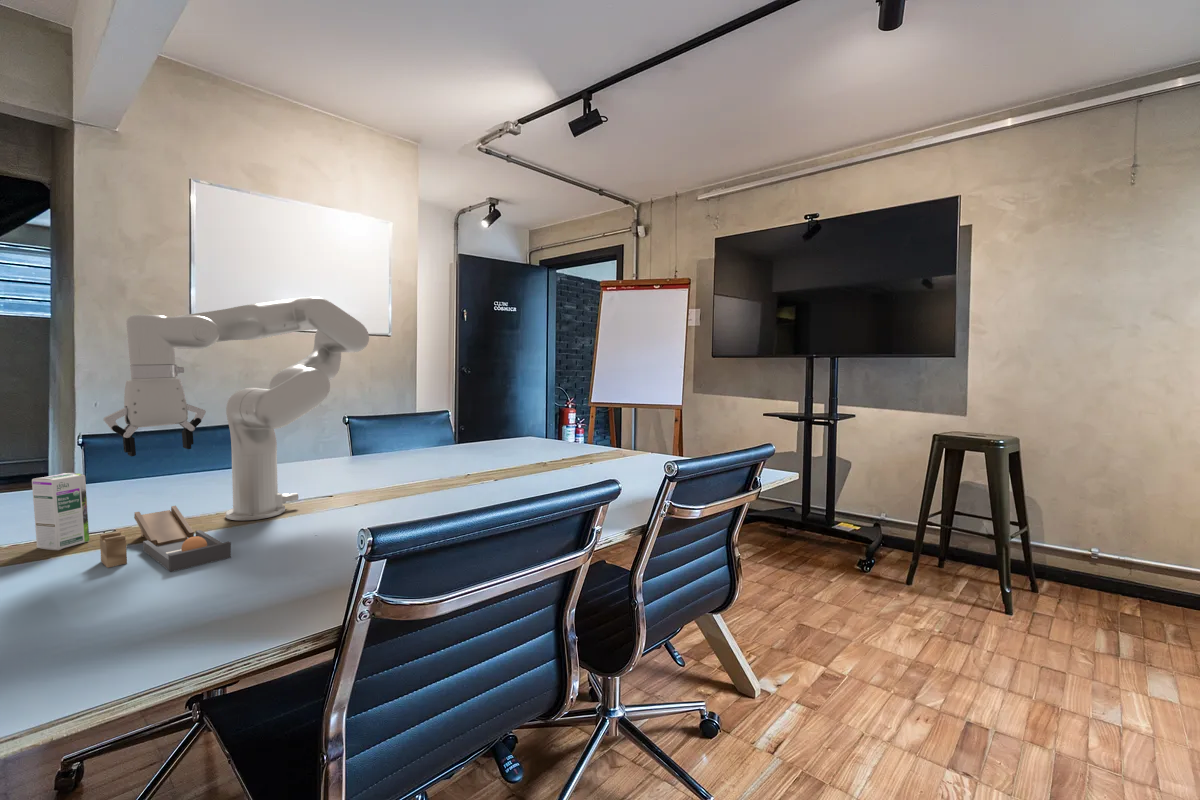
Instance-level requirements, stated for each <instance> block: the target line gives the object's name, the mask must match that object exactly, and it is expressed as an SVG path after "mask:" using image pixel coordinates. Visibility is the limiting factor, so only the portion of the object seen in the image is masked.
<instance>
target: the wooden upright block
mask: <svg viewBox="0 0 1200 800" xmlns="http://www.w3.org/2000/svg"><path fill="white" fill-rule="evenodd" d="M99 537H100V538H99V547H100V549H99V550H100V562H101V563H102V564H103V566H105V567H106V568H108V569H109V568H113V567H117V566H121V565H126V564H128V556H127V540H126V534H122V532H121V531H112V532H106V533H102V534H99Z"/></svg>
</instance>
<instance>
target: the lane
mask: <svg viewBox="0 0 1200 800" xmlns="http://www.w3.org/2000/svg"><path fill="white" fill-rule="evenodd" d="M195 536H199V537H202V538H204V539H205V540H206V542H207V546H206V547H201V548H197V549H192V550H188V551H183V552H182V549H181V548H182V544H183V543H184V541H185V540H183V541H178V542H174V543H169V544H164V545H159V546H157V545H156V546H155V545H154V544H153V543H151V542H150V541H148V540H147V539H146V540H143V541H142V546H143V547H142V549H143V550H142V551H143V552H144V553H145V554H147V555H148V556H149V557H150V558H152V559H153V560H154V561H156V562H158V563H159V564H160V565H161V566H162V567H163V568H165V569H166V570H167V571H169V572H170V573H172V572H173V573H174V572H177V571H181V570H185V569H189V568H193V567H198V566H202V565H205V564H209V563H213V562H218V561H223V560H226V559H230V558H232V548H231V545H232V542H230V541H229V540H228V541H225V542H222V541H220V540H218V539H217V538H215V537H213V536H211V535H210V534H208V533H206V532H205V531H203V530H201V529H198V530H197V529H196V530H195Z"/></svg>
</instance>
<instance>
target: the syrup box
mask: <svg viewBox="0 0 1200 800" xmlns="http://www.w3.org/2000/svg"><path fill="white" fill-rule="evenodd" d="M86 483H87V482H86V475H85V474H83V473H80V472H79V473H76V472H67V473H66V472H63V473H59V474H53V475H49V476H44V477H43V476H42V477H36V478H32V479H31V486H32V487H31V489H32V500H33V512H34V524H35V525H34V527H35V540H36V548H38V549H43V550H50V551H60V550H63V549H67V548H71V547H74V546H77V545H80V544H84V543H87V542H88V543H89V542H90V531H89V530H90V529H89V517H88V497H87V484H86Z"/></svg>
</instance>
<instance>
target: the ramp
mask: <svg viewBox="0 0 1200 800" xmlns="http://www.w3.org/2000/svg"><path fill="white" fill-rule="evenodd" d="M133 516H134V517H133V518H134V520H135V522H136V523H137V525H138V527H139V529H140V537H142V538H145V539H146V541H147V540H148V541H150V542H151V543H153V544H154V545H155V546H159V545H164V544H169V543H174V542H178V541H183V540H187V539H188V538H190V537H194V534H195V531H194V530H193V528H192V527H191V526H190V524H189V523H188V521H187V520H186V518H185V517H184V515H183V514H182V512H181V511H180V509H179V508H178V507H177V506H176V505H171V508H170V509H168V510H167V509H166V510H162V511H155V512H151V513H144V514H141V511H135V512H134V515H133Z"/></svg>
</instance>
